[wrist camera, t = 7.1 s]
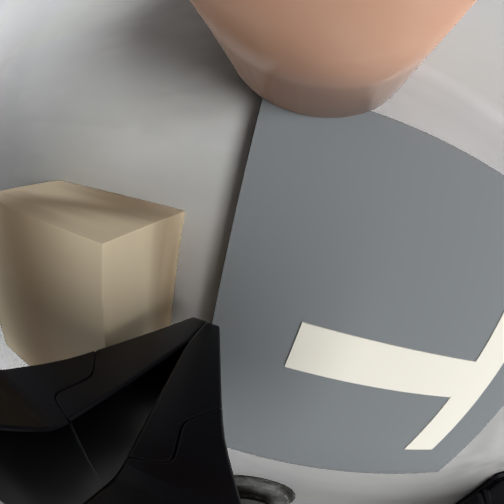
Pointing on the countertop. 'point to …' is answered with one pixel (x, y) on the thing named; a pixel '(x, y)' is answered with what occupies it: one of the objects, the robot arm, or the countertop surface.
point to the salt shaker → (262, 491)
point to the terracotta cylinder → (329, 47)
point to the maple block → (83, 269)
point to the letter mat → (361, 296)
